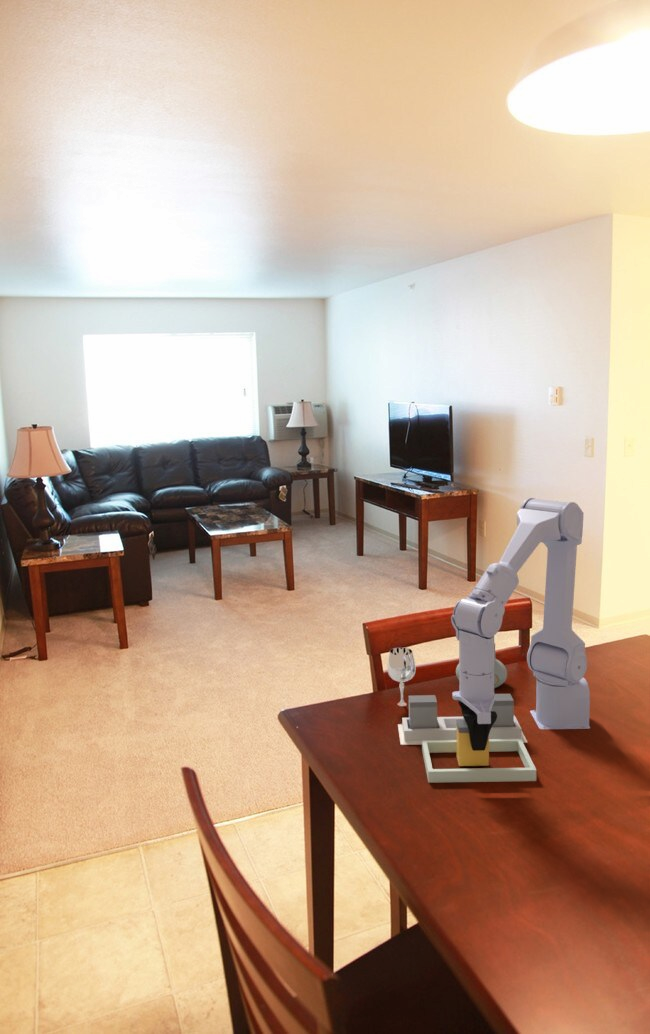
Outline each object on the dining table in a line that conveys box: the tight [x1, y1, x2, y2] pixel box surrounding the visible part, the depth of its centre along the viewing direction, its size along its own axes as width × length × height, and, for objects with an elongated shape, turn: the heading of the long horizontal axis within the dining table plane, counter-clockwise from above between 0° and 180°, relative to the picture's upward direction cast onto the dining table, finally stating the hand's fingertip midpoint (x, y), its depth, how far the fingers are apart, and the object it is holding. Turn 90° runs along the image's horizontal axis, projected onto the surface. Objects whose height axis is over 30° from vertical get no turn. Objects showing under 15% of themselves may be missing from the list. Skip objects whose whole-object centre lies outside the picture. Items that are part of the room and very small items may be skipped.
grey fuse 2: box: [491, 693, 515, 727], centre depth 133 cm, size 5×3×7 cm, turn 88°
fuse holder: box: [397, 715, 529, 746], centre depth 133 cm, size 23×8×3 cm, turn 88°
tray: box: [421, 739, 537, 784], centre depth 122 cm, size 18×11×2 cm, turn 88°
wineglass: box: [386, 646, 417, 707], centre depth 146 cm, size 6×6×12 cm
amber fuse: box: [456, 719, 490, 767], centre depth 121 cm, size 5×3×7 cm, turn 88°
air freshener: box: [455, 642, 508, 689], centre depth 155 cm, size 11×8×10 cm
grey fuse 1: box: [408, 694, 438, 729], centre depth 133 cm, size 5×3×7 cm, turn 88°
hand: (476, 744), depth 121 cm, fingers closed on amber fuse, 3 cm apart
